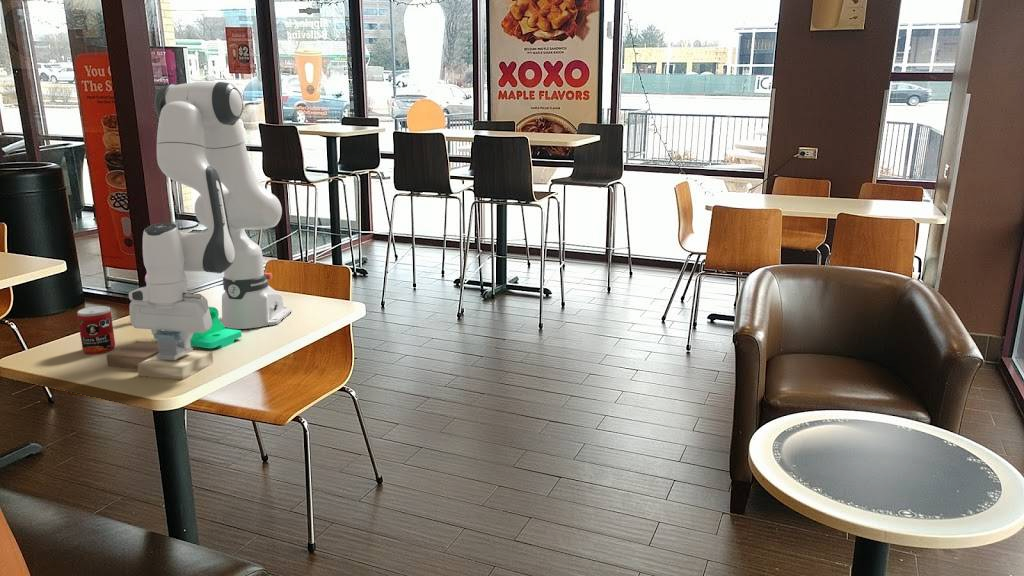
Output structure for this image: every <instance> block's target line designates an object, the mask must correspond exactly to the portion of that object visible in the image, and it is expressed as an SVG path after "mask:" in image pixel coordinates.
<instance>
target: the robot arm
mask: <svg viewBox="0 0 1024 576" xmlns="http://www.w3.org/2000/svg"><path fill="white" fill-rule="evenodd" d="M243 102H244V101H243V98H242V94H241V92H240V90H239V89H238V88H237V87H236V86H235V85H234V84H232V83H229V82H225V81H217V82H214V81H213V82H212V81H194V82H188V83H187V82H186V83H180V84H174V83H173V84H168V85H165V86H161V87H160V88H159V89H158V91H157V92H156V94H155V96H154V103H153V105H154V109H155V112H156V115H157V117H158V118H159V120H158V124H157V125H158V126H157V134H156V161H157V165H158V167H159V170H161V173H163V174H164V175H165V177H167V178H169V179H171V181H174V182H176V183H178V184H181V185H184V186H186V187H188V188H192V189H193V190H195V191H196V192H198V193H199V196H198V197H197V198H196V201H195V203H194V214H195V216H196V219H197V220H198V222H199V223H200V224H201V225H203V227H205V228H206V229H207V231H206V232H187V231H186V232H185V231H184V232H183V231H180V230H179V227H178V226H177V224H175V223H171V222H159V223H155V224H150V225H148V226H147V227H146V228H144V230H143V233H142V258H143V259H142V260H143V265H144V267H145V269H146V270H145V271H146V274H147V277H146V282H145V284H146V285H143V286H142V287H139V288H136V289H134V290H131V291H130V292H128V298H129V301H130V303H129V318H130V319H129V320H130V325H131V326H132V327H133V328H135V329H142V330H143V329H144V330H151V334H152V336H153V337H154V334H156V333H159V332H161V331H163V330H169V331H183V335H184V336H185V338H184V340H183V341H181V342H180V344H181V348H183V349H188V348H190V347H192V346H191V345H190V340H191V338H192V336H193V334H194V332H197V333H203V332H205V331H208V330H209V329H210V328H211V327H212V320H211V315H210V311H209V308H208V307H209V303H208V302H209V301H208V299H207V298H206V297H205V296H204V295H202V294H201V293H189V290H188V282H187V275H186V272H205V273H212V274H213V273H214V274H222V273H223V277H222V286H223V290H224V292H223V293H222V296H221V316H220V317H218V318H219V320H220V321H221V322H222V324H223V325H224V327H225V328H227V329H234V330H243V329H244V330H247V329H253V328H254V329H256V328H262V327H267V326H268V325H269V326H275V324H276V325H278V324H280V323H281V322H282V321H283V320H284V319H285V318H287V317H288V316H289V315H290V314H291V313H292V312H293V311H292V308H291V307H285V306H284V301H283V296H282V294H281V293H280V292H279V291H277V290H276V289H274V288H273V287H271V286H270V284H269V281H271V280H272V279H273V274H272V272H269V273H268V272H265V269H264V258H263V257H264V256H263V251H262V248H261V246H260V245H259V244H258V243H256V242H254V241H253V240H252V239H251V238H250V237H249V236H248V235H247V232H246V230H251V231H261V230H265V229H266V230H267V229H271V228H274V227H276V226H278V224H279V222H280V220H281V219H282V215H283V208H282V205H281V202H280V200H279V198H278V196H276V195H275V194H274V193H272V192H270V191H269V190H268V189H267V188H266V187H264V185H263V184H262V183H261V182H260V180H259V179H258V177H257V176H256V174H255V172H254V170H253V167H252V165H251V161H250V158H249V154H248V153H249V152H248V149H247V145H246V141H245V137H244V132H243V128H242V125H241V122H240V120H239V119H240V118H241V117H242V114H243V110H244V103H243ZM222 184H223V186H224V187H225V188H226V189H225V190H224V189H223V186H222ZM291 311H292V312H291ZM290 312H291V313H290ZM289 313H290V314H289ZM288 314H289V315H288ZM287 315H288V316H287ZM284 317H285V318H284ZM283 318H284V319H283ZM282 319H283V320H282ZM281 320H282V321H281ZM280 321H281V322H280ZM155 340H156V343H157V344H158V342H157V339H155Z"/></svg>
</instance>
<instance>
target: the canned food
mask: <svg viewBox="0 0 1024 576" xmlns="http://www.w3.org/2000/svg"><path fill="white" fill-rule="evenodd" d="M76 315H77V321H78V327H79V328H78V330H79V335H80V341H81V348H82V352H83V353H85V354H86V355H99V354H106V353H110V351H111V352H112V351H114V349H115V347H116V342H115V341H116V340H115V334H114V333H115V332H114V325H113V318H112V317H113V316H112V311H111V307H110V306H106V305H105V306H104V305H97V306H94V305H93V306H88V307H84V308H82V309H78V310H77V313H76Z"/></svg>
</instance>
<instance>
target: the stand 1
mask: <svg viewBox="0 0 1024 576" xmlns="http://www.w3.org/2000/svg"><path fill="white" fill-rule="evenodd" d="M158 353H159V350H158V344H157V342H153V341H141V340H140V341H137V340H136V341H134V342H131V343H130V344H128V345H125V346H123V347H121V348H117V349H116V350H112V351H111V352H108V353H107V354H106V353H105V354H106V361H107V366H108V367H114V368H115V367H116V368H126V369H127V368H129V369H138V364H139V363H141V362H143V361H145V360H147V359H149V358H151V357H153V356H155V355H156V354H158Z"/></svg>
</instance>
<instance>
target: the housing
mask: <svg viewBox="0 0 1024 576" xmlns="http://www.w3.org/2000/svg"><path fill="white" fill-rule="evenodd" d="M184 338H185V336H184V335H183V331H169V330H162V331H161V332H159V333H156V334H154V336H153V339H154V340H156V339H157V340H156V343H157V342H158V350H159V353H158V354H156V358H157V359H168V360H176V359H178V358H180V357H182V356H184V355H186V354H188V353H190V352H192V351H193V350H194V348H193V347H194V346H190V348H188V349H183V348H181V344H180V342H181V341H183V340H184Z"/></svg>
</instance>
